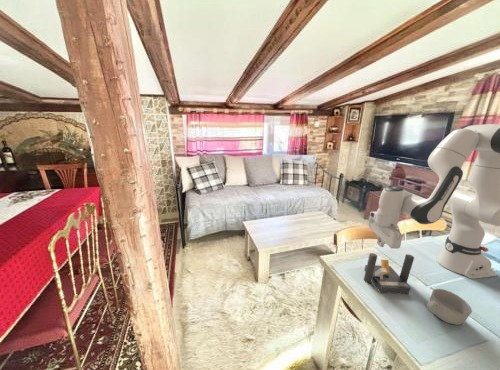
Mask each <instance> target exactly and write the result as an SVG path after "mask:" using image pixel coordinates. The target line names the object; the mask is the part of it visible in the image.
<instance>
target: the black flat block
mask: <svg viewBox="0 0 500 370" xmlns="http://www.w3.org/2000/svg"><path fill="white" fill-rule="evenodd" d="M366 268H367V264H365V267H364V272H366ZM379 268H382V265H376V264H375V268H374V272H376V271H377V270H378V269H379ZM389 271H390V274H389V275H382V276H381V277H377V276H374V272H373V276H372V280H371V282H372V283H373V284H374V285H375V287H376V289H377V290H378V292H379V293H381V294H404V295H409V294H410V291H411V287H410V286H409V285H408V284H407V283H405V282H404V281H403V280H402V278H401V277H400V274H398V273H397V272H396V271H395V270H394V269H393V267H392V266H390V265H389Z"/></svg>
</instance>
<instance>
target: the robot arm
mask: <svg viewBox="0 0 500 370" xmlns="http://www.w3.org/2000/svg"><path fill="white" fill-rule="evenodd" d="M473 151H476V152H478V154H477V156H476V158H475V160H474V162H473V166H472V168H471V171H470V175H469V177H468V182H469V184H470V185H471V186H472V188H473V189H474V192H473V191H469V190H463V189H462V190H461V189H457V187H458V186H459V183H460V182H461V181H462V178H463V175H464V172H463V171H464V170H462V168H463V165H464V163H465V162H466V160H468V158H469V157H470V155H471V154H472V153H473ZM427 165H428V167H429V168H430V169H431V171H433V172H434V174H436V175H437V176H438V179H439V180H438V182H437V185H436V186H435V187H434V190H433V191H432V192H431V194H430V196H429V197H428V198H423V197H422V196H419V195H417V194H415V193H412V192H409V191H408V190H406V188H404V187H402V186H400V185H387V186H385V187H384V188H383V190H382V191H381V194H380V197H379V202H378V208H377V210H376V211H370V212H369V219H368V222H367V225H368V228H369V229H371V231H373V233H375V235H376V240H377V241H376V244H377V245H378V246H379V247H381V248H384V247H385V244H386V245H387V246H388V247H389V248H390V249H397V250H398V249H400V248H401V246H402V240H403V237H402V233H401V230H400V229H399V228H398V227H397V226H398V224H399V220H400V214H404V215H405V216H407V217H410V218H411V219H412V220H414V221H416V222H417V223H418V224H421V225H430V224H434V223H436V222H438V221H439V220H440V219H441V217H442V215H443V212H444V209H445V207H446V205H447V206H448V209H449V210H450V213H451V218H452V224H451V228H450V231H449V234H448V236H447V237H446V239H445V243H444V244H443V247H442V248H441V250H440V251H439V252H438V254H437V257H436V262H437V263H438V264H439V265H441V267H443V268H445V269H447V270H449V271H451V272H453V273H456V274H459V275H461V276H462V275H463V276H465V277H467V278H469V279H473V280H474V279H483V278H489V277H490V278H491V277H492V278H493V277H496V276H497V273H496V271H495V270H494V269H493V268H492V261H491V260H490V259H489V258H488V257H487V256H486V255H484V254H483V253H482V252H484V253H487V252H488V251H489V248H488V247H485V246H484V245H483V246H482V242H483V240H484V237H485V235H486V231H485V229H484V228H483V227H482V226H481V224H480V222H481V223H484V224H488V225H492V226H495V227H500V124H499V123H498V124H497V123H487V124H466V125H462V126H460V127H458V128H456V129H455V130H452V131H451V132H450V133H449V134H448V135H447V136H445V137H444V138H443V139H442V140H441V141H440V142H439V143H438V144H437V146H436V147H435V148H434V149H433V150H432V151H431V153H430V155H429V156H428V159H427Z"/></svg>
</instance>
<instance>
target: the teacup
mask: <svg viewBox="0 0 500 370" xmlns="http://www.w3.org/2000/svg"><path fill="white" fill-rule="evenodd" d="M426 308H427V309H428V311H430V312H431V313H432V314H433V315H435V316H436V317H437V318H438V319H440V320H442V321H443V322H445V323H448V324H452V325H457V326H458V325H462V324H464V323H465V322H466V321H467V319H469V316H470V315H471V314H472V312H473V310H472V307H471V305H470V304H469V303H468V302H467V301H466V300H465V299H464V298H462V297H461V296H459V295H458V294H456V293H454V292H452V291H450V290H447V289H443V288H435V289H432V292H431V295H430V297H429V300H428V302H427V304H426Z"/></svg>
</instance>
